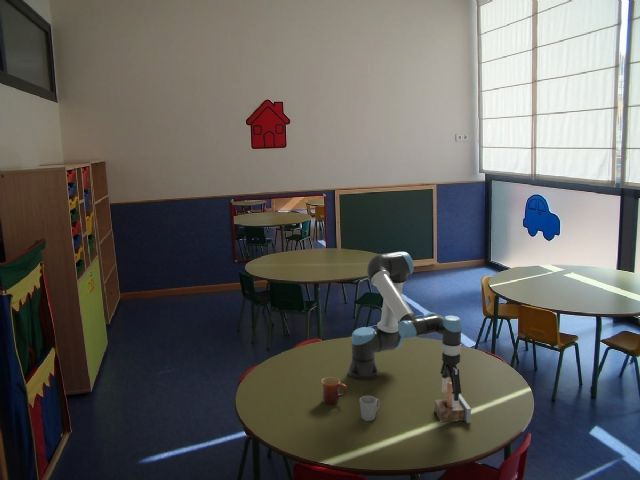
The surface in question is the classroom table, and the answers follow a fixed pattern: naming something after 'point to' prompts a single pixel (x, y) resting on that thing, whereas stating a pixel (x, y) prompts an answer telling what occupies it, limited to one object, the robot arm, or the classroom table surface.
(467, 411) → the base
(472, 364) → the classroom table surface
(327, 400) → the mug
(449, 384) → the dowel
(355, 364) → the robot arm
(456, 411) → the block
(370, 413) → the cup
